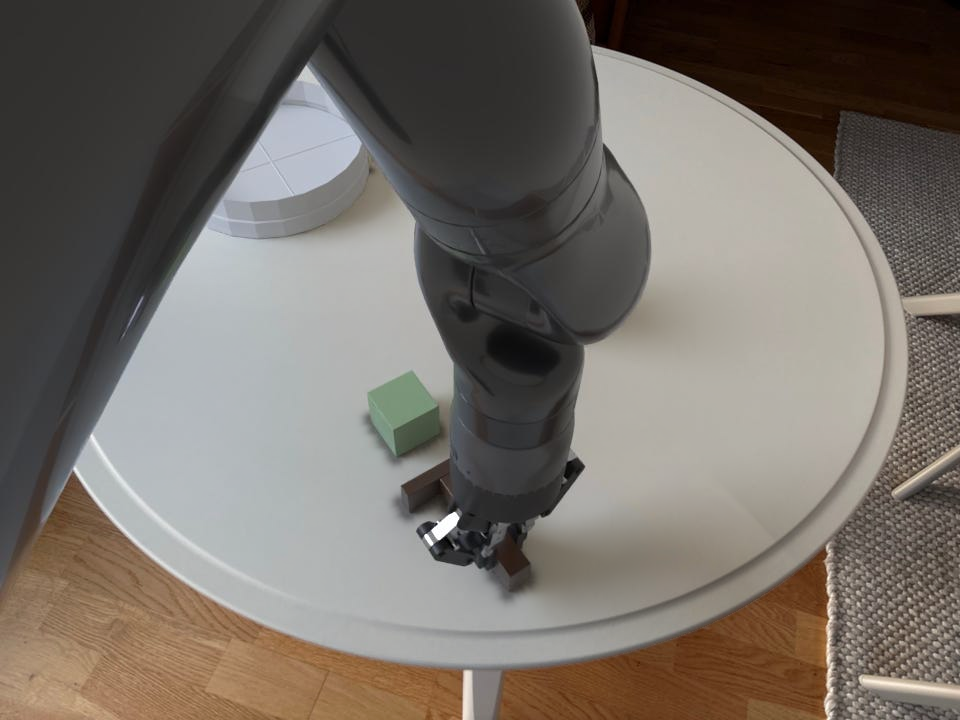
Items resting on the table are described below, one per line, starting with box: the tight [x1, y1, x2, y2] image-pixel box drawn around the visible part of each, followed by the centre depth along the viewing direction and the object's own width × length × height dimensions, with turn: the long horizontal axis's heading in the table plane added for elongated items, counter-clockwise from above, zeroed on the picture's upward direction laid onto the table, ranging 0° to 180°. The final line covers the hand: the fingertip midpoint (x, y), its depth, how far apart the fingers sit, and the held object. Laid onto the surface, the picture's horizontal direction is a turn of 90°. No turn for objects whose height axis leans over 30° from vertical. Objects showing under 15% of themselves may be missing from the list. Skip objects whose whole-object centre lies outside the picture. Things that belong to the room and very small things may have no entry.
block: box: [366, 369, 441, 458], centre depth 68 cm, size 4×4×4 cm
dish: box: [205, 79, 370, 239], centre depth 88 cm, size 22×22×5 cm
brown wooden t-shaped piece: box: [400, 457, 532, 592], centre depth 63 cm, size 11×8×3 cm
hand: (497, 550), depth 62 cm, fingers closed on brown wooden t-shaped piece, 2 cm apart
